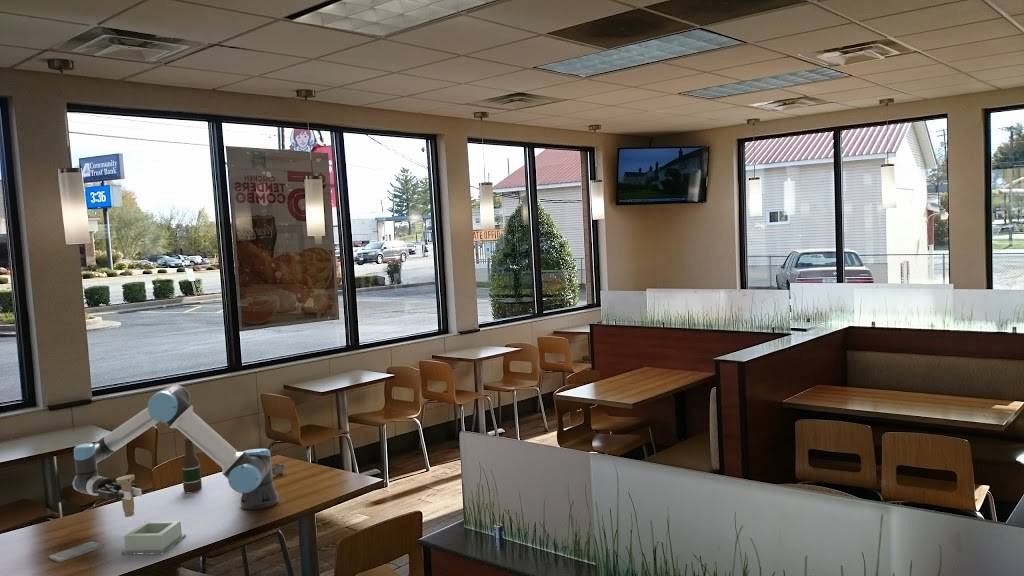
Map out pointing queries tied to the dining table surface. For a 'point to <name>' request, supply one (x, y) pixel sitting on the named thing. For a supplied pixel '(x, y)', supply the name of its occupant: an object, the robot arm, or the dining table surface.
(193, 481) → the beer bottle
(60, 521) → the dining table surface
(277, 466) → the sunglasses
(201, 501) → the dining table surface
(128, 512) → the handle
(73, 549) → the phone
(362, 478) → the dining table surface
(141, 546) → the holder
